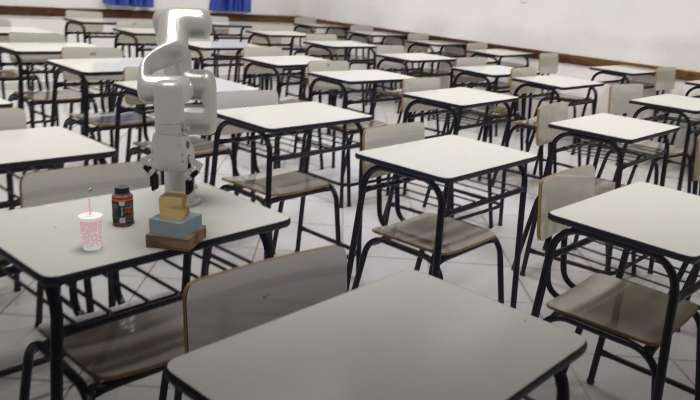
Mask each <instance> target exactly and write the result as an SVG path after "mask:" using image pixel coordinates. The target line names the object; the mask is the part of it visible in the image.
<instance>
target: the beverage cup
mask: <svg viewBox="0 0 700 400" xmlns="http://www.w3.org/2000/svg"><path fill="white" fill-rule="evenodd" d="M87 200H88V201H87V202H88V211H86V212H82V213H79V214H78V215H77V219H78V222H79V228H80V236H81V242H82V249H83V250H84V251H86V252H92V251H93V252H94V251H98V250H101V248H103V247H102V246H103V245H102V244H103V243H102V239H103V235H102V234H103V233H102V229H103V228H102V227H103V224H102V223H103V222H102V221H103V218H104V217H103V213H102V212H99V211H92V209H91V208H92V207H91V196H88V197H87Z"/></svg>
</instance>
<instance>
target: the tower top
mask: <svg viewBox="0 0 700 400" xmlns="http://www.w3.org/2000/svg"><path fill="white" fill-rule="evenodd" d="M202 225H203V213H201V212H194V211H190V210H189V214H188V215H187V216H186V217H185V218H184V219H182V220H169V219H160V213H158V214H155V215H152V216H151V217H149V218H148V231H149V232H148V233H154V234H159V235H165V236H170V237H175V238H181V239H182V238H184V237H185V236H187V235H189V234H191V233H193V232H194V231H196V230H198V229H200V228H202Z"/></svg>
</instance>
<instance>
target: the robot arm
mask: <svg viewBox="0 0 700 400" xmlns="http://www.w3.org/2000/svg"><path fill="white" fill-rule="evenodd" d="M152 26H153V31H154V34H155V37H156V39H157V40H156V41H157V42H156V46H155V47H154V48H153V49H151V50H150V51H149V52H148V53H147V54H145V56H144V57H143V58H142V60H141V62H140V63H139V66H138V71H137V81H136V82H137V83H136V92H137V93H136V94H137V96H138V99H139V101H141V102H142V103H145V104H153V106H154V108H153V109H154V111H153V112H154V128H155V129H154V132H153V133H152V137H151V145H150V153H149V154H146V155H144V156H141V158H139V162H140V164H141V166H142V169H143V170H144V171H145V172H146V174H147V176H148V177H149V186H150V188H151V191H152V192H155V191H156V190H158V189H159V188H160V182H159V181H160V180H159V179H160V178H159V176H160V175H159V174H158V172H159V171H160V172H163V175H164V179H163V180H164V182H163V183H164V193H165V192H167V191H176V192H186V195H189V208H190V207H195V206H197V205H199V204H200V203H201V197H200V196H199V195H197V194H196V190H197V189H198V188H199V185H198V184H197V183H196V177H197V176H198V175H199V174H200V173H201V170H202V169H203V167H204V164H203V163H202V162H201V161H200V160H198V159H196V158H195V147H194V145H193V143H192V141H191V140H190V136H210V135H213V134H215V132H216V131H217V127H218V97H217V96H218V95H217V94H218V93H217V80H216V75H215V74H214V73H213V72H212V71H211V70H208V69H200V68H199V69H197V68H196V69H194V68H193V67H192V51H190V49H189V39H200V40H201V39H202V40H203V39H205V40H207V39H209V38H210V36H211V34H212V30H213V20H212V16H211V13H210V12H209V10H207V9H205V8H200V7H199V8H198V7H179V6H176V7H175V6H174V7H167V8H162V9H158V10H156V11H154V12H153V15H152ZM161 70H163V74H154V73H156V72H158V71H161ZM190 101H200V102H201V103H202V104H195V103H194V104H191V103H189V102H190ZM148 160H150V164H149V161H148Z"/></svg>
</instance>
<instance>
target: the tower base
mask: <svg viewBox="0 0 700 400" xmlns="http://www.w3.org/2000/svg"><path fill="white" fill-rule="evenodd" d="M206 237H207V225H204V224H202V228H200V229H198V230H196V231H194V232H193V233H191V234H189V235H187V236H185V237H184V238H182V239H181V238H175V237H170V236H165V235H159V234H154V233H149V232H148V233H146V234H145V247H146V248H150V249H159V250H168V251H174V252H175V251H177V252H183V253H190V251H192V249H194V248H195V247H197V245H199V244H200V243H201V242H202V241H203V240H204V239H205V238H206Z"/></svg>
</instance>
